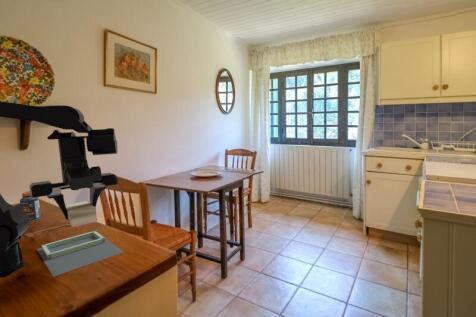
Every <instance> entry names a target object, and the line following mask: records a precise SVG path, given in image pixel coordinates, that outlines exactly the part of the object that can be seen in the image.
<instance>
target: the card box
mask: <svg viewBox="0 0 476 317" xmlns="http://www.w3.org/2000/svg"><path fill="white" fill-rule="evenodd" d="M65 206H66V209H67V213H68V220H66V222H67V224H68V223H69V224H70V225H71V226H70V227H71V228H75V227H79V226H84V225H87V224H91V223H96V222H98V216H97V208H95V207H94V206H93V205H91V204H90V202H88V201H87V200H83V201H79V202H74V203H70V204H69V203H67V204H65Z"/></svg>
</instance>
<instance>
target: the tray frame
mask: <svg viewBox="0 0 476 317" xmlns="http://www.w3.org/2000/svg"><path fill="white" fill-rule="evenodd" d="M91 236H95V237H96V238H97V240H93V241H90V242H87V243H83V244H80V245H76V246H73V247H70V248H66V249H63V250H59V251H56V252H53V253H50V251H49V250H48V249H49V248H52V247H56V246H59V245H63V244H66V243H70V242H74V241H77V240H81V239H84V238H88V237H91ZM105 239H106V238H105V237H104V236H103V235H102V234H100V233H99V232H97V231H96V230H94V231H89V232H85V233H82V234H79V235H74V236H72V237H71V236H70V237H68V238H64V239H60V240H56V241H54V242H53V241H52V242H49V243H46V244H42V245H41V248H42V250H43V252H44V253H45V255H46V257H47V258H48V259H51V258H55V257H58V256H61V255H64V254H68V253H71V252H74V251H77V250H81V249H84V248H87V247H91V246H94V245H97V244H100V243H104V242H105Z"/></svg>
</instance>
